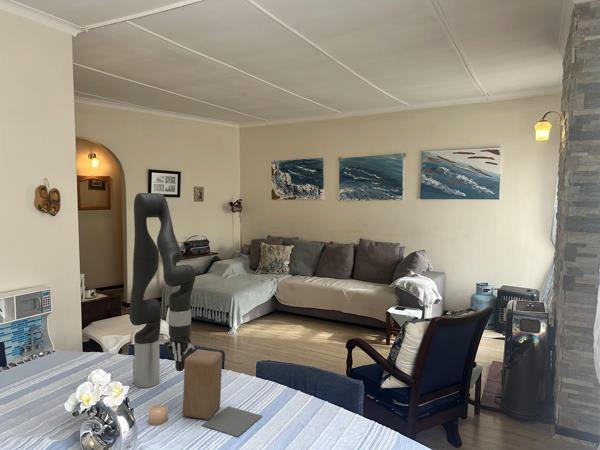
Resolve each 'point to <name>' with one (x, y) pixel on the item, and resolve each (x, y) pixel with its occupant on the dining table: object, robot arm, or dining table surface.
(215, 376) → the block
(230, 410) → the mat
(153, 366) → the robot arm
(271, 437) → the dining table surface
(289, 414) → the dining table surface
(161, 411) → the tan rounded lump
